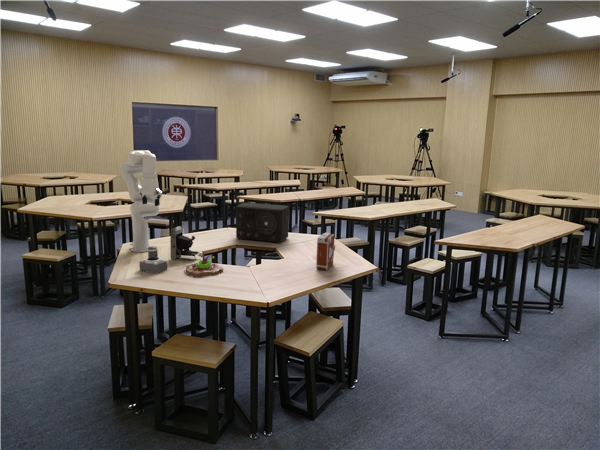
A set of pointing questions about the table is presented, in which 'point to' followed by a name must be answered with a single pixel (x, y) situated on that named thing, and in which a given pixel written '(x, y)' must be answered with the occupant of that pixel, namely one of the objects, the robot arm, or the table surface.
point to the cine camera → (325, 251)
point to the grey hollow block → (153, 265)
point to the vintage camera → (180, 244)
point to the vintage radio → (262, 222)
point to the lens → (152, 253)
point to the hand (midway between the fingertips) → (151, 204)
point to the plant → (203, 268)
